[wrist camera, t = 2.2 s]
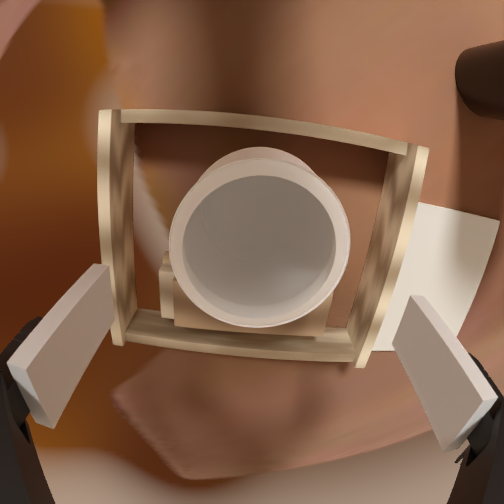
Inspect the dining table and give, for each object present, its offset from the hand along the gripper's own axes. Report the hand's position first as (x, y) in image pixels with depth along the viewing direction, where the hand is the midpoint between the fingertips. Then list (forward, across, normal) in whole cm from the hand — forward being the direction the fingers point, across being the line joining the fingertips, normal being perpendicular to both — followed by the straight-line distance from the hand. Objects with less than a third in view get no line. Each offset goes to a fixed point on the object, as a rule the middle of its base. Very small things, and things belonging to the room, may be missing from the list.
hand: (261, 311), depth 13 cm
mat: (+20, +23, -8) cm, 32 cm away
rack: (+20, 0, -4) cm, 21 cm away
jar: (+20, 0, 0) cm, 21 cm away
